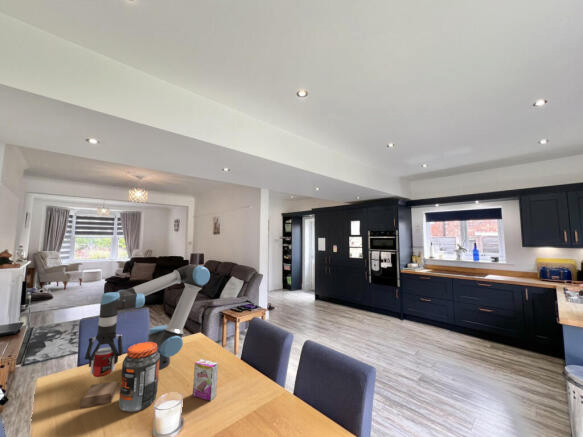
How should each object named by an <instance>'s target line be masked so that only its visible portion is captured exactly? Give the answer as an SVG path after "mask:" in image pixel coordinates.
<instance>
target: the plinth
mask: <svg viewBox="0 0 583 437" xmlns="http://www.w3.org/2000/svg"><path fill="white" fill-rule="evenodd" d="M119 383H120V382H119V381H118V380H115V381H110V382H103V383H102V382H101V383H96V384H91V385H90V387H89V389H88V390H86V393H85V394H84V396H83V397H82V398H81V400H80V405H79V408H80V409H81V408H87V407H88V408H89V407H93V406H99V405H104V404H105V405H106V404H109V403H112V402H113V400H114V398H115V396H116V394H117V392H118V390H119V388H120V384H119Z"/></svg>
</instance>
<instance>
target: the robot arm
mask: <svg viewBox="0 0 583 437" xmlns="http://www.w3.org/2000/svg"><path fill="white" fill-rule="evenodd" d="M210 278H211V273H210V271H209V269H208V268H207V267H205V266H203V265H195V264H189V265H185V266H181V267H180V268H177V269H174V270H173V272H170V273H168V274H165V275H162V276H159V277H157V278H154V279H152V280H149V281H147V282H144V283H141V284H138V285H135V286H133V287H129V288H128V289H119V290H117V291H115V292H114V291H113V292H106V293H105V292H104V293H103V294H102V295H101V299H100V302H99V304H100V307H99V316H98V323H97V324H98V326H97V334H96V336H90V337H89V338H88V345H87V349H86V353H85V356H84V360H85V361H88V367H89V368H90V374H89V375H90V376H91V375H92V376H93V368H94V358H95V352H97V351H98V349H100V347H101V346H102V345H108V347H111V350H113V355H114V357H113V358H112V368H111V373H113V372H114V371H115V368H116V364H117V363H118V362H119V357H121V356H122V354H123V352H124V351H123V341H122V339H123V337H124V336H123V333H121V334H117V322H118V312H120V311H126V310H133V309H139V308H142V307H143V306H144V305H145V302H146V296H149V295H151V294H153V293H156V292H158V291H161V290H163V289H166V288H168V287H171V286H174V285H176V284H178V285H179V284H181V283H183V284H184V286H185V287H184V288H183V291H182V294H181V296H180V298H179V300H178V303H177V305H176V307H175V310H174V312H173V314H172V315H171V319H170V321H169V324H167V325H166V324H164V325H162V324H161V325H157V326H156V325H155V326H153V327H151V328H150V329H149V330H148V334H147V342H154V343H156V344H157V351H158V352H159V355H160V361H159V371H160V370H162V369H164V368H167V367H168V366H169V365H170V364H171V357H174V356H175V355H176V354H178V353H179V352H180V351H181V349H182V348H183V344H184V341H183V336H184V334H185V333H184V330H183V329H184V327H185V325H186V322H187V320H188V317H189V316H190V315H189V314H190V312H191V309H192V307H193V304H194V302H195V300H196V297H197V295H198V293H199V291H200V290H202V289H203V287H204V286H205V285H206V284H208V282H209V280H210ZM114 339H116V340H117V346H116V344H115V341H114ZM95 341H97V342H98V343H97V344H96V346H95V348H94V350H93V352H92V349H93V346H94V342H95ZM91 353H92V354H91Z"/></svg>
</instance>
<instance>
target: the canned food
mask: <svg viewBox="0 0 583 437" xmlns="http://www.w3.org/2000/svg"><path fill="white" fill-rule="evenodd" d="M113 357H114V355H113V350H111V347H110V346H105V347H101V348H99V349H98V351H97V352H95V356H94V358H93V359H94V368H93V374H92V376H93V377H95V378H101V377H106V376H108V375H110V374H111V373H112V372H111V368H112V358H113Z"/></svg>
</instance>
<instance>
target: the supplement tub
mask: <svg viewBox="0 0 583 437" xmlns="http://www.w3.org/2000/svg"><path fill="white" fill-rule="evenodd" d="M159 361H160V355H159V352H158V351H157V344H156V343H154V342H148V341H145V342H138V343H136V344H133V345H131V346H129V347H128V348H127V353H126V356H125V357H124V359H123V361H122V364H121V378H120V385H119V388H120V390H119V398H118V407H119V410H121V411H124V412H130V413H131V412H138V411H142V410H144V409H145V408H148V407H149V406H150V405H152V404H153V403H154V402H155V401H156V397H157V396H158V395H157V393H158V384H159V372H160V370H159Z"/></svg>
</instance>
